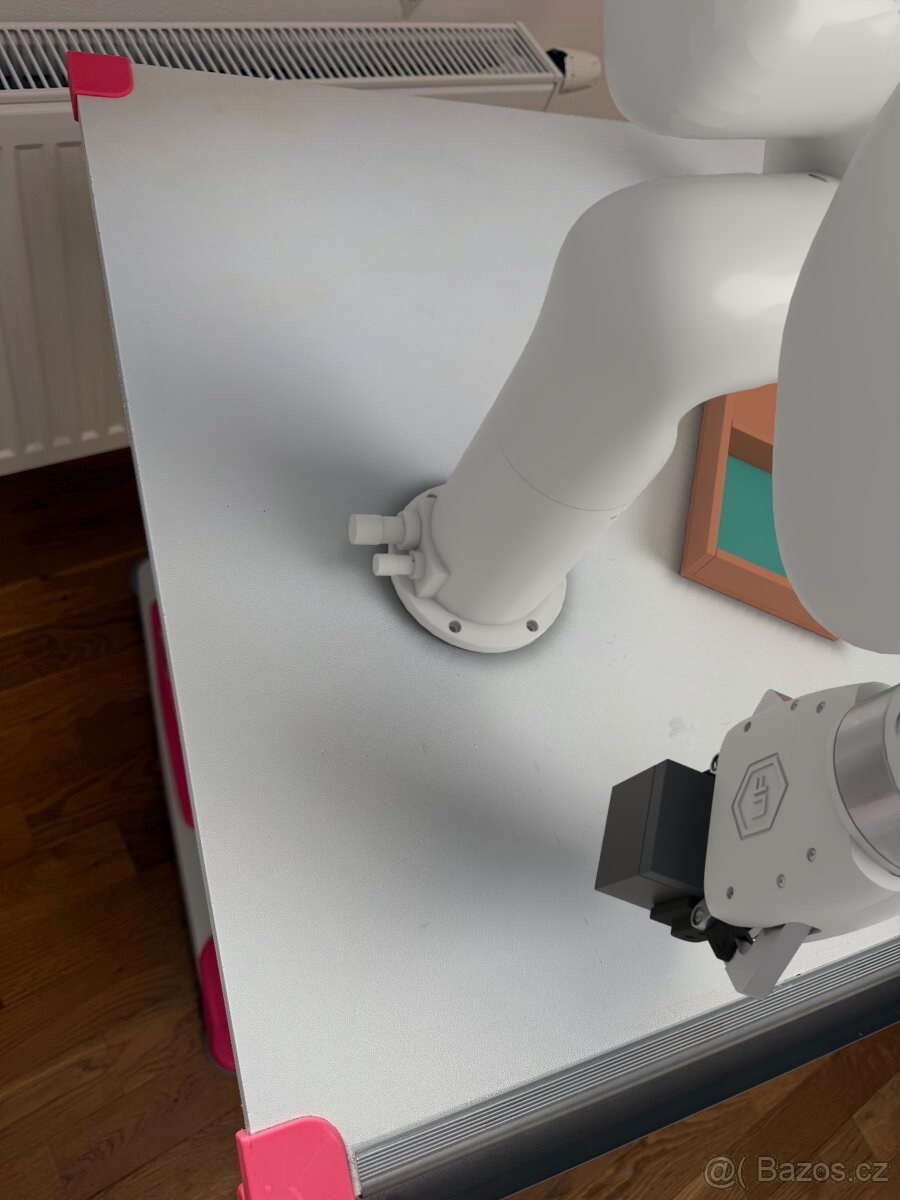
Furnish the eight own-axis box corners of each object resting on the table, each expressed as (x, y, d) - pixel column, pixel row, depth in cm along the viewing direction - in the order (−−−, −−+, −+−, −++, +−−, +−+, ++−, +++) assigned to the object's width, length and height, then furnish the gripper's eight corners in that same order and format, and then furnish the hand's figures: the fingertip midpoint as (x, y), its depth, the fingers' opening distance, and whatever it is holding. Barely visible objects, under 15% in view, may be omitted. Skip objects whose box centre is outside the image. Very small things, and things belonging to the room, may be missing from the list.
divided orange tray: (679, 575, 72) (706, 551, 69) (714, 334, 86) (737, 306, 83) (835, 641, 74) (867, 621, 71) (844, 396, 88) (872, 371, 85)
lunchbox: (593, 889, 52) (650, 870, 47) (611, 786, 55) (667, 757, 50) (736, 942, 54) (807, 929, 48) (747, 839, 57) (814, 816, 51)
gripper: (856, 564, 42) (645, 699, 57) (837, 972, 33) (594, 1002, 49) (996, 629, 43) (753, 743, 59) (1013, 1037, 35) (723, 1046, 50)
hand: (683, 860), depth 53 cm, fingers closed on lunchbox, 6 cm apart
